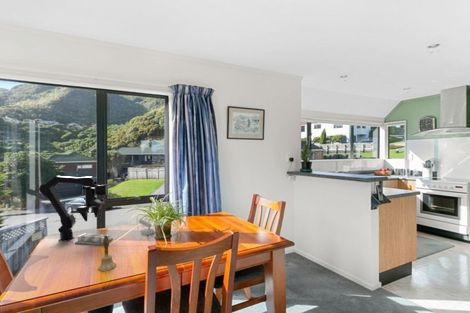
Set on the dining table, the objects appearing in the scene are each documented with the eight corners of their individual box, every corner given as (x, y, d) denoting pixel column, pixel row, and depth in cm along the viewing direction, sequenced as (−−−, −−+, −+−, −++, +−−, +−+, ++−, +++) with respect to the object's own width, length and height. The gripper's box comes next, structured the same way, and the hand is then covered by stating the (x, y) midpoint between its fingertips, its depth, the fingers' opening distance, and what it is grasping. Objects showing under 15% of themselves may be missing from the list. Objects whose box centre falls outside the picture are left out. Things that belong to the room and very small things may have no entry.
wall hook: (142, 216, 191) (155, 217, 189) (142, 230, 191) (155, 230, 189) (135, 220, 182) (149, 220, 180) (136, 234, 183) (149, 235, 181)
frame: (83, 240, 169) (83, 235, 169) (88, 238, 173) (87, 233, 173) (100, 241, 167) (100, 236, 167) (104, 239, 171) (104, 234, 171)
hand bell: (95, 267, 135) (94, 236, 134) (112, 262, 141) (111, 231, 140) (101, 273, 129) (99, 240, 128) (118, 267, 135) (117, 235, 134)
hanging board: (74, 243, 167) (74, 237, 167) (86, 238, 177) (86, 232, 176) (102, 245, 163) (101, 239, 163) (112, 239, 173) (112, 233, 173)
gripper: (91, 199, 166) (92, 224, 167) (110, 193, 184) (111, 215, 185) (75, 198, 168) (76, 223, 169) (95, 193, 186) (96, 215, 187)
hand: (91, 219), depth 178 cm, fingers open, 9 cm apart
